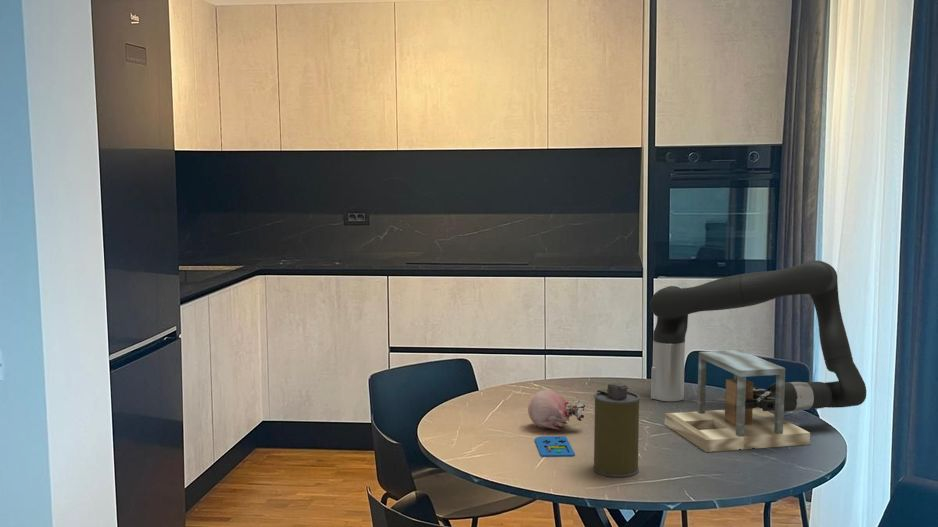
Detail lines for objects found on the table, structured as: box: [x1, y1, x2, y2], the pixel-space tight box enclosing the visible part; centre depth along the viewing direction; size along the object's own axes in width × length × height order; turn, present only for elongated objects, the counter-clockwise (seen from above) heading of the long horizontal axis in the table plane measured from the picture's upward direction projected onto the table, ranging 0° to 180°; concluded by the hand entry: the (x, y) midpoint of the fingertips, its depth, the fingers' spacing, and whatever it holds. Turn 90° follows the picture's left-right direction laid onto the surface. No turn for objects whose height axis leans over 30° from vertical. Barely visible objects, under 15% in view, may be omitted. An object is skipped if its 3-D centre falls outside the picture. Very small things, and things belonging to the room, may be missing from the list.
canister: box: [592, 382, 641, 478], centre depth 210 cm, size 11×10×20 cm
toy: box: [527, 389, 586, 432], centre depth 244 cm, size 12×11×15 cm
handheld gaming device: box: [534, 435, 576, 458], centre depth 228 cm, size 8×1×15 cm
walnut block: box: [724, 378, 754, 426], centre depth 238 cm, size 5×5×11 cm
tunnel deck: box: [664, 349, 811, 453], centre depth 237 cm, size 28×24×20 cm
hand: (733, 400), depth 237 cm, fingers open, 8 cm apart
